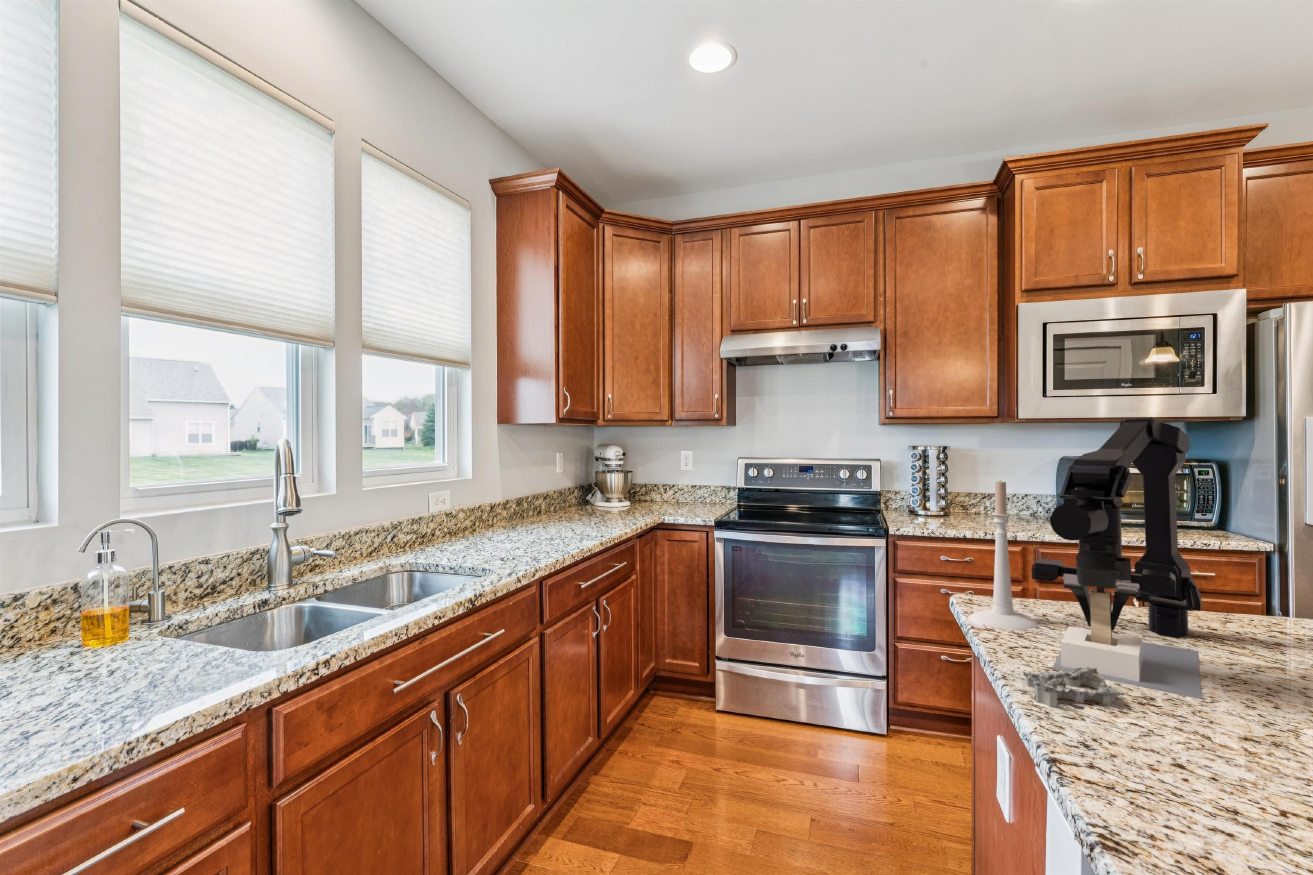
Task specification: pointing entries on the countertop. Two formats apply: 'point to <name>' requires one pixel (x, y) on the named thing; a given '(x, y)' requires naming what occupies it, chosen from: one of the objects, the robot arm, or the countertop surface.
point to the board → (1162, 670)
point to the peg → (1101, 616)
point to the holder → (1102, 654)
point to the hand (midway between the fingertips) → (1101, 627)
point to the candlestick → (1001, 577)
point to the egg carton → (1075, 679)
